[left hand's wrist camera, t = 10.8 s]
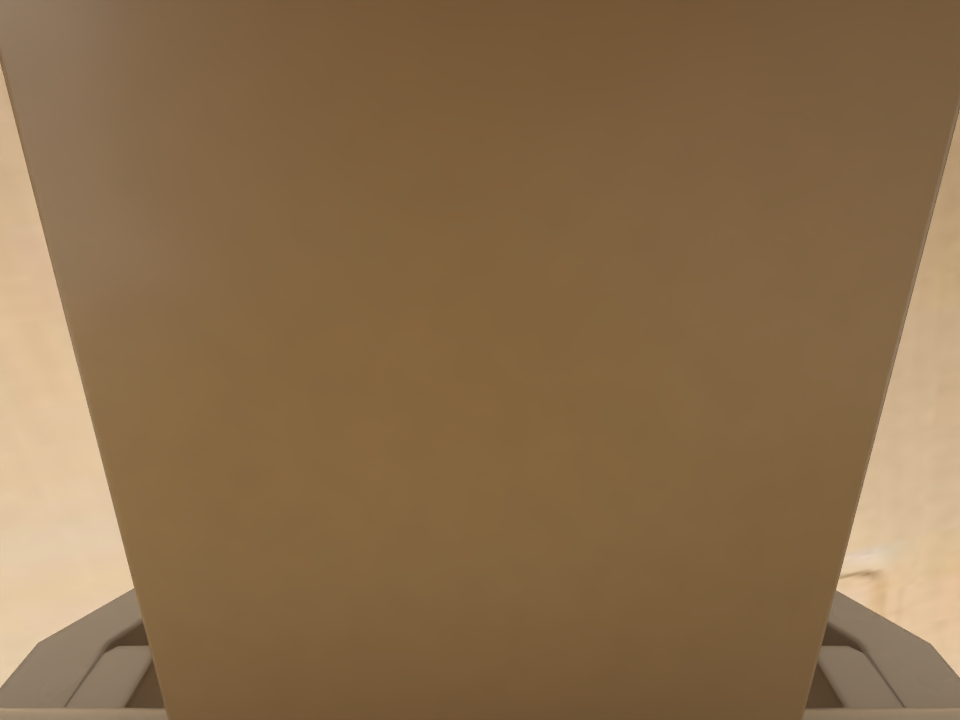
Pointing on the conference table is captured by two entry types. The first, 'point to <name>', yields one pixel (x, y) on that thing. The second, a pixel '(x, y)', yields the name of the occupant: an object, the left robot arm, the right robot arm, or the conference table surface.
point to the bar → (484, 333)
